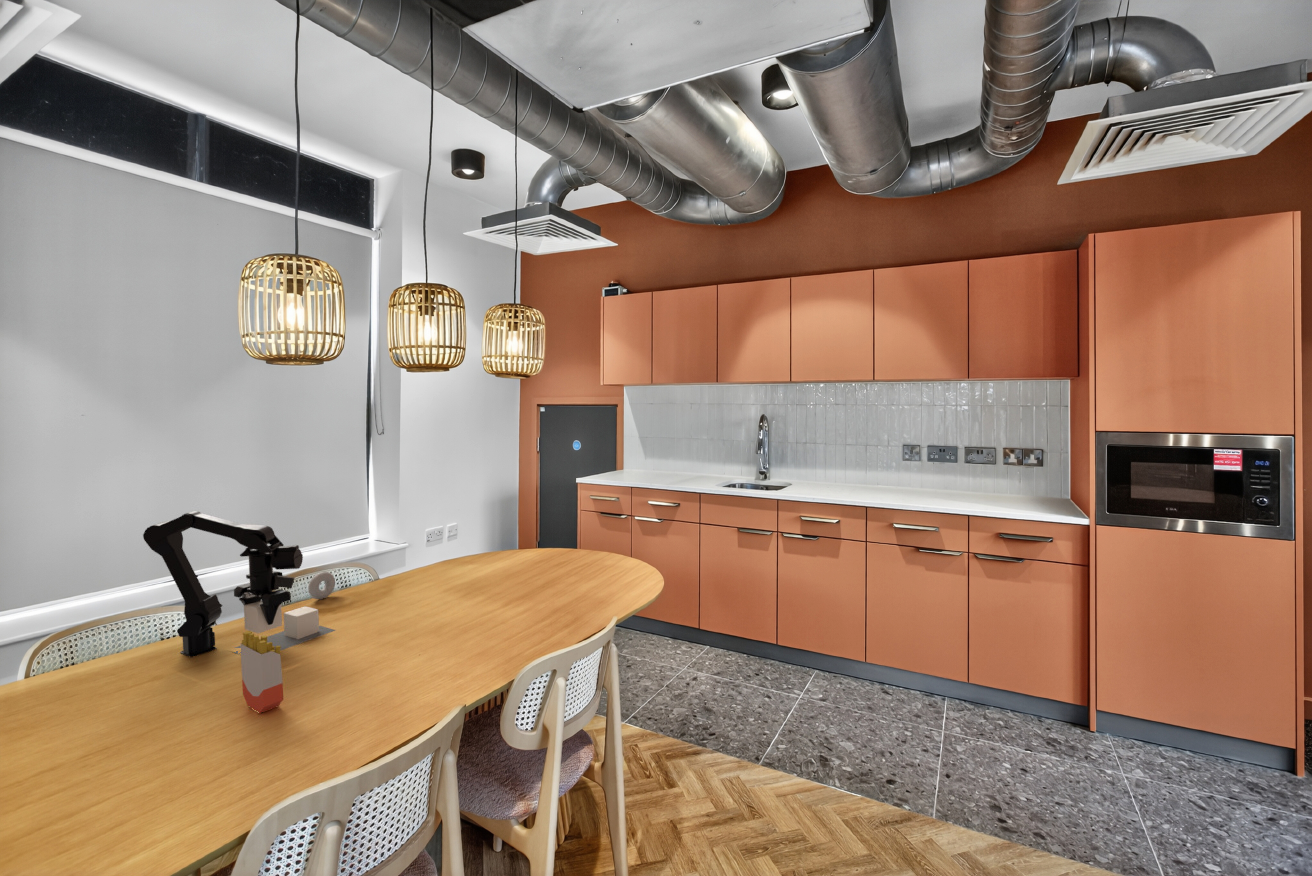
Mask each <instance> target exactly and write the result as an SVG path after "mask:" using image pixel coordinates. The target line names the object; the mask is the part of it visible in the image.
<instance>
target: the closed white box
mask: <svg viewBox="0 0 1312 876" xmlns="http://www.w3.org/2000/svg"><path fill="white" fill-rule="evenodd" d="M319 620H320V617H319V609H317V608H315V607H310V606H302V607H298V608H295V609H292V610H289V611H286V612H283V628H284V629H283V631H284V633H285V636H289V637H292V638H295V639H300V638H303V637H305V636H308V635H311V634H314V633H316V632H319V625H320V621H319Z"/></svg>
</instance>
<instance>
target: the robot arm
mask: <svg viewBox="0 0 1312 876" xmlns="http://www.w3.org/2000/svg"><path fill="white" fill-rule="evenodd" d="M190 528H192V529H195V530H199V531H203V532H207V533H210V534H214V535H218V536H222V537H225V538H230V539H232V540H234V541H235V542H237V543H238V544H239V545H241V546H244V547H245V549H244V551H242V552H241V553H240V554H239V556H240V558H241V557H248V571H249V572H248V573H249V574H245V577H246V579H247V580H248V579H249V582H247V583H245V584H241V585H238V586H236V587H235V588H234V590H233V597H236V598H238V601H240V602H241V604H242V605H243V607H244V606H245V605H248V604H252V603H255V602H259V601H262V602H263V604H260V607H261V610H262V612H263V614H264V617H265V619H266V622H267V624H268V625H271V624H273V621H274V618H275V615H276V612H277V609H278V607H279V605H281V606H282V604H283V603H285V602H289V601H291V600H292V593H291V592H290V591H288V590H285V589H281V588H287V589H289V590H290V589H292V588H293V585H294V581H295V577H292V576H287V575H283V572H282V571H274V569H275V570H299V569H300V568H301V566H302V564H303V558H304V556H303V553H302V550H301V549H300V545H297V544H294V545H284V543H283V542H282V541H281V540H280V538H278V537H277V535H275V531H274V529H273V528H272V527H271V526H268V525H262V524H243V523H238V522H235V521H232V520H228V519H223V518H220V517H217V516H212V515H209V514H205V513H202V512H201V511H198V510H195V511H194V510H192V511H189V512H186V513H184V514H182V515H181V516H179V517H176V518H174V519H172V520H166V521H162V522H159V523H157V524H153V525H150V526H149V527H147V528H146V529H145V530H144V532H143V534H142V537H143V540H144V542H145V543H146V544H147V546H148V547H149V549H151V550H152V551H153V552H154V553H155V554H157V555H159V556H161V558H162V559H163V562H164V563H165V565H166V567H167V569H168V571H169V573H170V576H171V577H172V579H173V581H174V582H175V585H176V587H177V589H178V590H179V593H180V594H181V597H182V598H183V601H184V610H183V611H184V612H183V613H184V617H185V620H186V621H185V622H184V623H183V624H181V626H180V627H179V628H177V629H176V632H177V634H178V637H179V638H182V651H180V654H181V655H184V656H186V657H189V656H190V657H189V658H194V657H193V656H195V657H197V655H198V656H200V655H203V654H207V653H209V652H212V650H213V651H214V650H215V649H216V650H217V649H218V648H217V646H216V634H215V633H216V632H215V631H213V630H214V629H213V626H214V625H215V624H216V621H218V619H219V618H220V617H221V614H222V613H223V611H222V607H223V604H222V603H220V601H219V599H218V596H217V595H216V594H213V595H212V596H211V595H209V594H208V593H206V592H205V590H204V588H203V586H202V584H201V582H200V581H199V579H198V576H197V574H196V573H195V570H194V569H193V567H192V564H191V563H190V561H189V559H188V557H187V555H186V553H185V551H184V548H183V545H184V544H183V543H184V537H183V533H184V531H187V530H188V529H190Z"/></svg>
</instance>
